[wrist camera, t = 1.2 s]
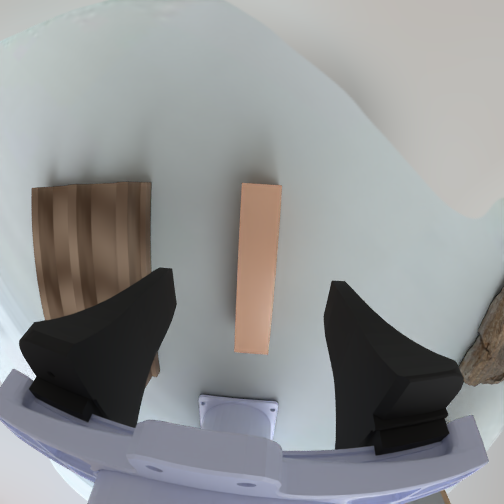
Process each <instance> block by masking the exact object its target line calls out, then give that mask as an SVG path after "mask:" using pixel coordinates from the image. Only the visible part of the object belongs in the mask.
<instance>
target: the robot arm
mask: <svg viewBox="0 0 504 504" xmlns="http://www.w3.org/2000/svg"><path fill="white" fill-rule="evenodd" d="M176 305H177V303H176V296H175V288H174V280H173V272H172V269H170V268H158V269H156V270H155V271H153V272H151V273H150V274H148V275H147V276H145V277H144V278H142V279H141V280H139V281H137V282H136V283H134V284H133V285H131V286H130V287H128V288H126V289H125V290H123V291H121V292H120V293H118V294H116V295H115V296H113V297H111V298H109V299H107V300H105V301H103V302H101V303H99V304H97V305H95V306H92V307H90V308H87V309H85V310H82V311H79V312H77V313H74V314H70V315H67V316H63V317H60V318H56V319H51V320H45V321H40V322H34V323H33V324H32V326H31V327H30V328H29V329H28V331H27V332H26V333H25V334H24V335H23V337H22V338H21V339H20V341H19V346H20V350H21V352H22V354H23V356H24V358H25V359H26V361H27V363H28V364H29V366H30V367H31V369H32V370H33V372H34V373H35V375H36V376H37V377H36V378H35V380H34V381H33V380H31V379H30V378H29V377H28V376H26V375H24V374H22V373H21V372H19V371H17V370H15V369H12V371H11V372H10V374H9V375H8V377H7V378H6V379H5V381H4V382H3V384H2V385H1V387H0V420H1V422H2V423H3V424H5V425H6V426H7V427H8V428H9V429H10V430H11V431H12V432H13V433H14V434H15V435H16V436H17V437H18V438H20V439H21V440H23V441H24V442H25V443H27V444H28V445H30V446H31V447H33V448H34V449H36V450H37V451H39V452H41V453H42V454H44V455H45V456H47V457H48V458H50V459H52V460H53V461H55V462H57V463H58V464H60V465H62V466H64V467H65V468H67V469H69V470H71V471H72V472H74V473H76V474H78V475H80V476H82V477H84V478H86V479H88V480H90V481H92V482H94V486H93V489H92V492H91V495H90V498H89V500H88V503H87V504H405V503H408V502H411V501H414V500H417V499H420V498H423V497H426V496H429V495H431V494H434V493H437V492H439V491H442V490H444V489H447V488H449V487H452V486H454V485H455V484H457V483H459V482H460V481H462V480H463V479H465V478H467V477H468V476H470V475H471V474H473V473H474V472H476V471H477V470H479V469H480V468H482V467H483V466H485V465H486V464H487V463H488V462H489V460H488V457H487V454H486V450H485V447H484V444H483V441H482V438H481V435H480V433H479V430H478V427H477V425H476V422H475V419H474V417H473V415H469V416H466V417H463V418H459V419H456V420H453V421H451V422H450V423H448V424H446V421H445V418H446V417H447V416H448V413H447V410H446V407H447V406H448V405H449V403H450V402H451V401H452V400H453V399H454V397H455V396H456V395H457V394H458V392H459V391H460V389H461V388H462V385H463V382H464V377H463V375H462V373H461V371H460V369H459V367H458V365H457V363H456V361H454V360H452V359H449V358H447V357H444V356H442V355H439V354H437V353H434V352H432V351H430V350H428V349H426V348H424V347H423V346H421V345H419V344H417V343H415V342H414V341H412V340H411V339H409V338H407V337H406V336H404V335H403V334H401V333H400V332H399V331H397V330H396V329H395V328H393V327H392V326H391V325H389V324H388V323H387V322H386V321H384V320H383V319H382V318H381V317H380V316H379V315H378V314H377V313H376V312H374V311H373V310H372V309H371V308H370V307H369V306H368V305H367V304H366V303H365V302H364V301H363V300H362V299H361V298H360V296H359V295H358V294H357V293H356V292H355V291H354V290H353V289H352V288H351V287H350V286H349V285H348V284H347V283H346V282H345V281H332V282H331V287H330V291H329V296H328V300H327V304H326V308H325V312H324V329H325V337H326V342H327V347H328V351H329V356H330V361H331V366H332V371H333V376H334V384H335V400H336V443H335V450H321V451H282V448H281V446H280V445H279V444H278V443H277V442H274V441H272V440H273V435H274V429H275V423H276V418H277V412H278V403H277V402H276V401H263V400H249V399H237V398H227V397H218V396H210V395H200V396H199V399H198V400H199V413H200V425H201V428H195V427H189V426H184V425H179V424H174V423H169V422H165V421H156V420H146V421H143V422H140V423H137V421H138V415H139V411H140V406H141V401H142V397H143V393H144V389H145V386H146V382H147V378H148V375H149V372H150V369H151V366H152V363H153V360H154V358H155V356H156V354H157V351H158V349H159V347H160V345H161V343H162V341H163V339H164V337H165V334H166V332H167V330H168V328H169V326H170V324H171V321H172V318H173V315H174V312H175V308H176ZM203 402H205V403H203ZM272 408H274V409H272Z"/></svg>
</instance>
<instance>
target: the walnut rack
mask: <svg viewBox="0 0 504 504" xmlns="http://www.w3.org/2000/svg"><path fill="white" fill-rule="evenodd" d="M150 216H151V183H150V182H117V183H104V184H74V185H68V186H56V187H38V188H32V232H33V246H34V256H35V265H36V273H37V280H38V286H39V292H40V298H41V303H42V308H43V313H44V317H45V320H51V319H56V318H60V317H63V316H67V315H70V314H74V313H77V312H79V311H82V310H85V309H87V308H90V307H92V306H95V305H97V304H99V303H101V302H103V301H105V300H107V299H109V298H111V297H113V296H115V295H116V294H118V293H120V292H121V291H123V290H125V289H126V288H128V287H130V286H131V285H133V284H134V283H136V282H137V281H139V280H141V279H142V278H144V277H145V276H147V275H148V274H150V273H151V243H150ZM159 372H160V368H159V360H158V352H157V354H156V356H155V358H154V360H153V363H152V366H151V369H150V372H149V375H148V378H147V382H146V386H147V384H148V382H149V381H150V379H151V377H152V376H154V377H157V376H158V374H159ZM146 386H145V387H146Z"/></svg>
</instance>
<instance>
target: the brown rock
mask: <svg viewBox="0 0 504 504" xmlns="http://www.w3.org/2000/svg"><path fill="white" fill-rule="evenodd" d="M478 332H479V333H480V335H479V336H478V338H477V339H476V342H475V343H474V345H473V346H472V347H471V348H470V349H469V350H468V352H467V354H466V355H465V357H464V359H463V361H462V362H461V364H460V366H459V369H460V371H461V373H462V375H463V377H464V381H465V383H467V384H468V385H472V386H476V385H478V384H480V383H482V384H487V383H488V384H498V383H499V382H501V381H503V380H504V287H503V288H502V291H501V292H500V293H499V294H498V295H497V296H496V297H495V299H494V300H493V302H492V303H491V304H490V306H489V309H488V311H487V314H486V315H485V317H484V318H483V320H482V323H481V325H480V327H479V329H478Z"/></svg>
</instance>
